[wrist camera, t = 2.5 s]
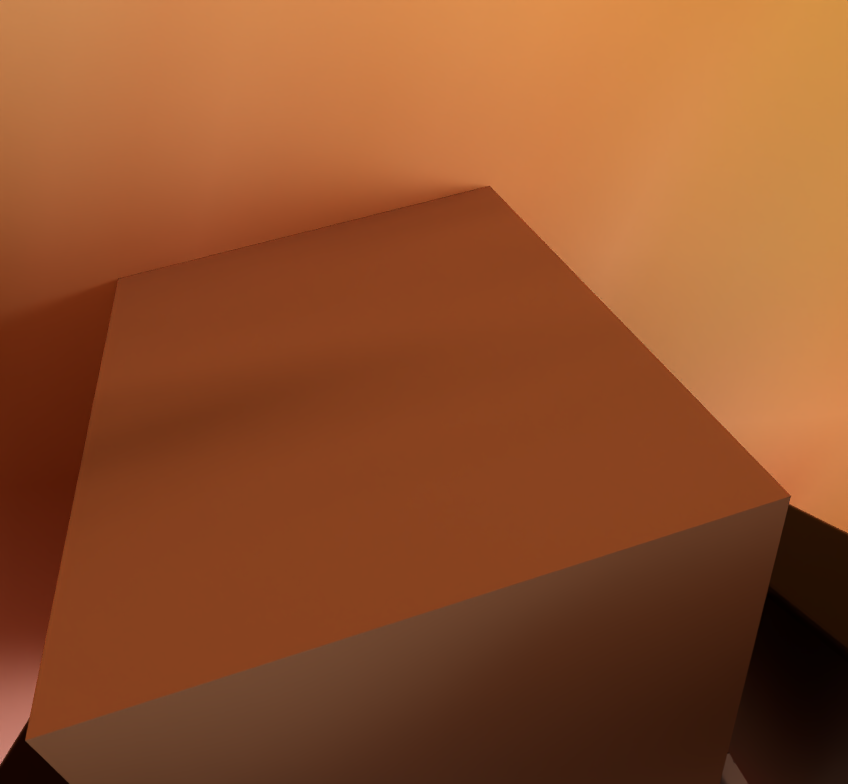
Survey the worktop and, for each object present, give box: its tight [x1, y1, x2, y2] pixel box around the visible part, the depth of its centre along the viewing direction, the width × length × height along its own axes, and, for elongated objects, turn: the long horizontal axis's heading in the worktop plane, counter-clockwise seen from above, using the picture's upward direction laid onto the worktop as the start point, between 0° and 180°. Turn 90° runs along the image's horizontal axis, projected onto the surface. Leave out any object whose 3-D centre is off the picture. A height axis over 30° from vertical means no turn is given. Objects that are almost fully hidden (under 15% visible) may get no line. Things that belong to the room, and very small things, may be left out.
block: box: [25, 186, 791, 784], centre depth 7 cm, size 6×4×5 cm, turn 8°
